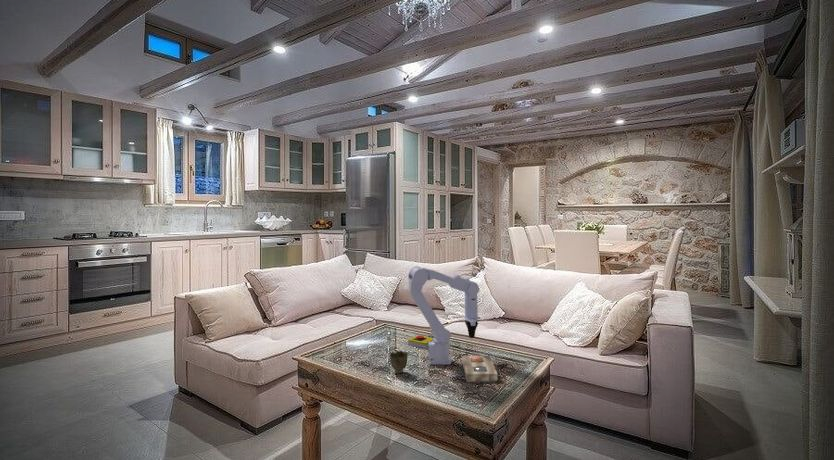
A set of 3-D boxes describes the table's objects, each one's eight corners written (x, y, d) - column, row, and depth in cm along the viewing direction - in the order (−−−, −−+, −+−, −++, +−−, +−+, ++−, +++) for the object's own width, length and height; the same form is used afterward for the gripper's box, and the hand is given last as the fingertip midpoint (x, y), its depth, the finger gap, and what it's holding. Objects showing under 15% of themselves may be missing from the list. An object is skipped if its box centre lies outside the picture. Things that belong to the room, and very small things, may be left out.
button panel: (466, 381, 155) (466, 374, 155) (462, 362, 175) (462, 356, 175) (497, 381, 154) (497, 373, 154) (489, 362, 174) (489, 355, 174)
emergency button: (415, 332, 209) (439, 336, 200) (415, 340, 210) (439, 345, 201) (404, 336, 202) (428, 341, 193) (404, 345, 202) (429, 350, 193)
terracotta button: (472, 366, 167) (472, 359, 167) (471, 362, 172) (471, 355, 172) (483, 366, 167) (482, 359, 167) (481, 362, 172) (481, 355, 171)
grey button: (475, 377, 157) (475, 370, 157) (474, 373, 162) (474, 366, 162) (486, 377, 157) (486, 370, 157) (485, 373, 162) (484, 365, 162)
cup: (394, 377, 160) (394, 357, 160) (387, 371, 167) (386, 352, 167) (411, 373, 164) (410, 354, 164) (403, 367, 170) (402, 349, 170)
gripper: (482, 311, 172) (482, 342, 173) (478, 303, 187) (478, 332, 187) (465, 311, 173) (466, 342, 173) (462, 304, 187) (463, 332, 188)
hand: (471, 337), depth 180 cm, fingers closed
